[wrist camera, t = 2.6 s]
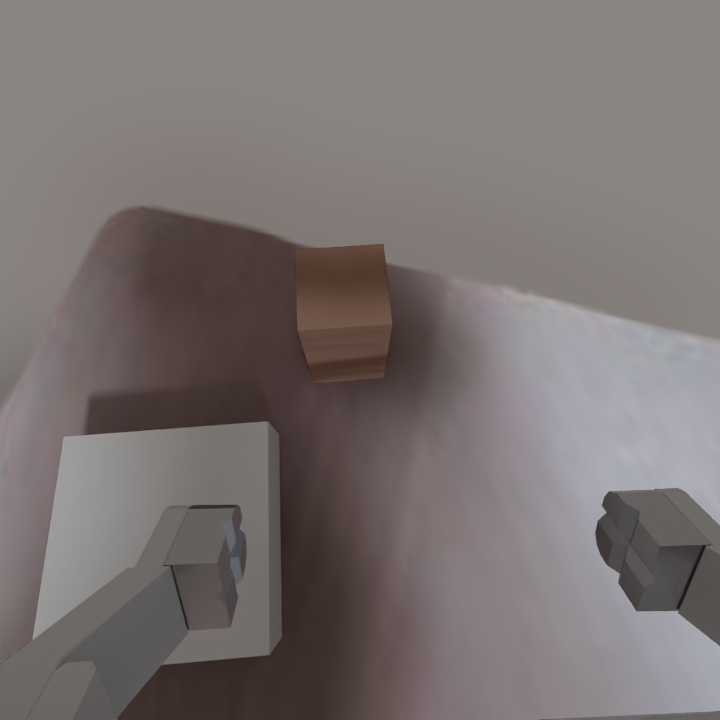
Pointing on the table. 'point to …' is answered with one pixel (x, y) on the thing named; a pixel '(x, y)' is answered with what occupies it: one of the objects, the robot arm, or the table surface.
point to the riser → (143, 510)
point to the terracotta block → (343, 311)
